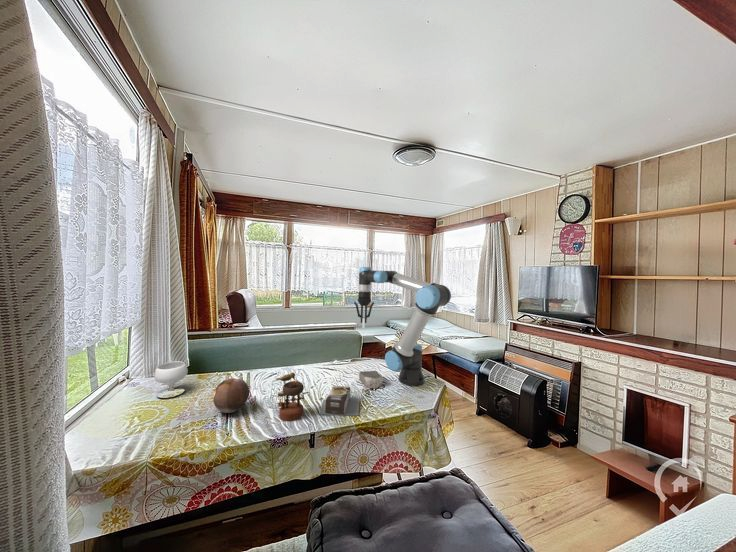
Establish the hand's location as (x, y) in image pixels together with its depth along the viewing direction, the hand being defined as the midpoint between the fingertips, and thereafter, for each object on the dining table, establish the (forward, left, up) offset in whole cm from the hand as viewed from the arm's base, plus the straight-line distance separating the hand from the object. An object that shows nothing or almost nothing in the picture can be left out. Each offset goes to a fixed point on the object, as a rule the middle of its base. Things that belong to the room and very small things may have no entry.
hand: (363, 327), depth 176 cm
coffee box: (+10, +35, -26) cm, 44 cm away
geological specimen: (-6, +15, -30) cm, 34 cm away
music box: (+31, +51, -30) cm, 67 cm away
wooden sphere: (+60, +49, -30) cm, 83 cm away
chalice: (+98, +34, -30) cm, 108 cm away
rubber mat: (+10, +44, -29) cm, 54 cm away
